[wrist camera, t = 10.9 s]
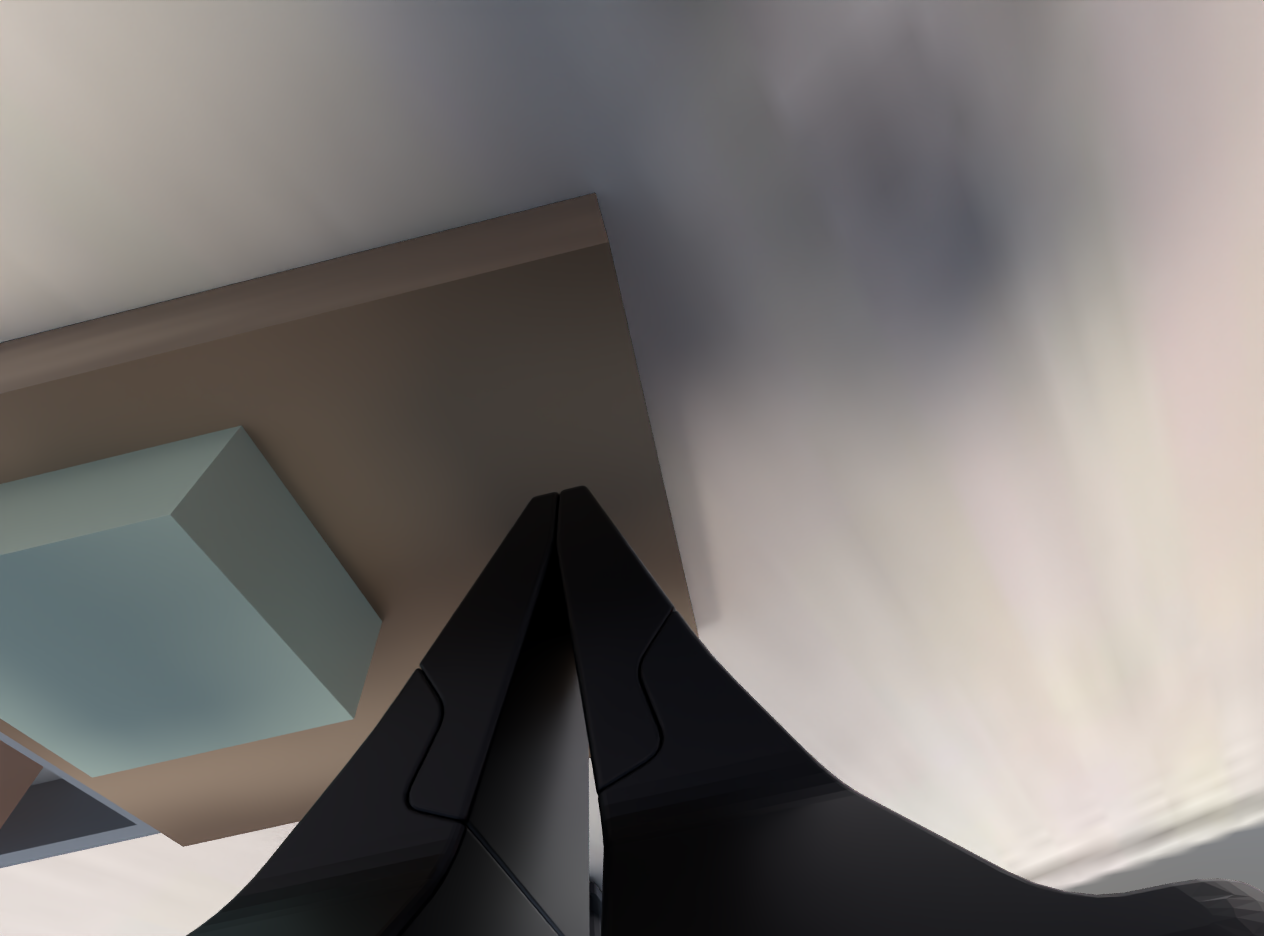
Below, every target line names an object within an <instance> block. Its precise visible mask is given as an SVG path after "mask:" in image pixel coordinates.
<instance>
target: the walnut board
mask: <svg viewBox="0 0 1264 936" xmlns="http://www.w3.org/2000/svg"><path fill="white" fill-rule="evenodd" d="M241 425H242V427H243V428H244V429H245V431H246V432H247V434H248V435H249V436H250V438H251V439H252V441H253V442H254V443H255V445H256V446H257V448H258V449H259V450H260V452H261V453H262V455H263V456H264V457H265V459H266V460H267V462H268V463H269V464H270V466H271V467H272V468H273V470H274V471H275V473H276V474H277V475H278V477H279V478H280V480H281V481H282V482H283V484H284V485H285V487H286V488H287V489H288V491H289V492H290V494H291V495H292V496H293V498H294V499H295V501H296V502H297V503H298V505H299V506H300V508H301V509H302V510H303V512H304V513H305V514H306V516H307V517H308V519H309V520H310V521H311V523H312V524H313V526H314V527H315V528H316V530H317V531H318V533H319V534H320V535H321V537H322V538H323V540H324V541H325V542H326V544H327V545H328V547H329V548H330V549H331V551H332V552H333V553H334V555H335V556H336V558H337V559H338V560H339V562H340V563H341V565H342V566H343V567H344V569H345V570H346V572H347V573H348V574H349V576H350V577H351V579H352V580H353V581H354V583H355V584H356V586H357V587H358V588H359V590H360V591H361V592H362V594H363V595H364V597H365V598H366V599H367V601H368V602H369V604H370V605H371V606H372V608H373V609H374V611H375V612H376V613H377V615H378V616H379V618H380V619H381V620H382V624H381V628H380V631H379V635H378V638H377V642H376V645H375V648H374V652H373V655H372V659H371V662H370V666H369V669H368V673H367V676H366V679H365V683H364V686H363V690H362V693H361V697H360V700H359V704H358V707H357V710H356V714H355V717H354V719H352V720H347V721H343V722H338V723H334V724H329V725H325V726H320V727H316V728H312V729H307V730H303V731H298V732H294V733H289V734H285V735H280V736H276V737H271V738H267V739H262V740H258V741H254V742H249V743H245V744H240V745H236V746H231V747H227V748H222V749H218V750H213V751H209V752H204V753H200V754H196V755H191V756H187V757H182V758H178V759H173V760H169V761H164V762H160V763H155V764H151V765H146V766H142V767H137V768H133V769H129V770H124V771H120V772H115V773H111V774H106V775H102V776H97V777H93V778H92V777H90V776H89V775H87V774H86V773H84V772H83V771H81V770H80V769H78V768H77V767H75V766H73V765H72V764H70V763H69V762H67V761H66V760H64V759H63V758H61V757H59V756H58V755H56V754H55V753H53V752H52V751H50V750H49V749H47V748H45V747H44V746H42V745H41V744H39V743H38V742H36V741H35V740H33V739H31V738H30V737H28V736H27V735H25V734H24V733H22V732H21V731H19V730H17V729H16V728H14V727H13V726H11V725H10V724H8V723H7V722H5V721H4V720H2V719H0V732H1V733H3V734H5V735H6V736H8V737H9V738H11V739H13V740H14V741H16V742H17V743H19V744H21V745H22V746H24V747H25V748H27V749H29V750H30V751H32V752H33V753H35V754H37V755H38V756H40V757H41V758H43V759H44V760H46V761H48V762H49V763H51V764H52V765H54V766H56V767H57V768H59V769H60V770H62V771H64V772H65V773H67V774H68V775H70V776H72V777H73V778H75V779H76V780H78V781H80V782H81V783H83V784H84V785H86V786H87V787H89V788H91V789H92V790H94V791H95V792H97V793H99V794H100V795H102V796H103V797H105V798H107V799H108V800H110V801H111V802H113V803H115V804H116V805H118V806H119V807H121V808H123V809H124V810H126V811H127V812H129V813H130V814H132V815H134V816H135V817H137V818H138V819H140V820H142V821H143V822H145V823H146V824H148V825H150V826H151V827H153V828H154V829H156V830H158V831H159V832H161V833H162V834H164V835H166V836H167V837H169V838H170V839H172V840H173V841H175V842H177V843H178V844H180V845H181V846H183V847H184V846H189V845H193V844H198V843H202V842H207V841H212V840H216V839H221V838H225V837H230V836H234V835H239V834H244V833H248V832H253V831H257V830H262V829H266V828H271V827H276V826H280V825H285V824H289V823H294V822H298V821H301V819H302V818H303V817H304V816H305V814H306V813H307V812H308V811H309V809H310V808H311V807H312V806H313V805H314V803H315V802H316V801H317V800H318V798H319V797H320V796H321V795H322V793H323V792H324V791H325V790H326V788H327V787H328V786H329V785H330V784H331V782H332V781H333V780H334V779H335V777H336V776H337V775H338V774H339V772H340V771H341V770H342V769H343V767H344V766H345V765H346V764H347V762H348V761H349V760H350V759H351V757H352V756H353V755H354V753H355V752H356V751H357V750H358V748H359V747H360V746H361V744H362V743H363V742H364V741H365V739H366V738H367V737H368V735H369V734H370V733H371V732H372V730H373V729H374V728H375V726H376V725H377V724H378V722H379V721H380V719H381V718H382V717H383V715H384V714H385V712H386V711H387V710H388V708H389V707H390V705H391V704H392V703H393V701H394V700H395V698H396V697H397V696H398V694H399V693H400V691H401V690H402V688H403V687H404V685H405V684H406V682H407V681H408V680H409V678H410V677H411V675H412V674H413V672H414V671H415V669H417V668H420V666H419V664H420V662H421V661H422V659H423V658H424V656H425V655H426V653H427V652H428V650H429V649H430V647H431V646H432V644H433V643H434V642H435V640H436V639H437V637H438V636H439V634H440V633H441V631H442V630H443V628H444V627H445V625H446V624H447V622H448V621H449V619H450V618H451V616H452V615H453V613H454V612H455V611H456V609H457V608H458V606H459V605H460V603H461V602H462V600H463V599H464V597H465V596H466V594H467V593H468V591H469V590H470V588H471V587H472V585H473V584H474V582H475V581H476V580H477V578H478V577H479V575H480V574H481V572H482V571H483V569H484V568H485V566H486V565H487V563H488V562H489V560H490V559H491V557H492V556H493V554H494V553H495V551H496V550H497V549H498V547H499V546H500V544H501V543H502V541H503V540H504V538H505V537H506V535H507V534H508V532H509V531H510V529H511V528H512V526H513V525H514V523H515V522H516V520H517V519H518V518H519V516H520V515H521V513H522V512H523V510H524V509H525V507H526V506H527V504H528V503H529V501H530V500H531V499H532V498H533V497H535V496H538V495H543V494H547V493H551V492H558V493H559V494H560V492H561V491H562V490H564V489H569V488H573V487H577V486H581V485H584V486H586V487H587V488H588V489H589V490H590V492H591V493H592V494H593V496H594V497H595V498H596V500H597V501H598V503H599V504H600V505H601V507H602V508H603V509H604V511H605V512H606V513H607V515H608V516H609V518H610V519H611V520H612V522H613V523H614V524H615V526H616V527H617V529H618V530H619V531H620V533H621V534H622V535H623V537H624V538H625V539H626V541H627V542H628V544H629V545H630V546H631V548H632V549H633V550H634V552H635V553H636V555H637V556H638V557H639V559H640V560H641V561H642V563H643V564H644V565H645V567H646V568H647V570H648V571H649V572H650V574H651V575H652V576H653V578H654V579H655V581H656V582H657V583H658V585H659V586H660V587H661V589H662V590H663V591H664V593H665V594H666V596H667V597H668V598H669V600H670V601H671V602H672V604H673V605H674V607H675V608H676V611H678V612H679V613H680V614H681V616H682V617H683V618H684V620H685V621H686V622H687V624H688V625H689V626H690V628H691V629H692V630H693V632H694V633H695V634H696V635H697V637H698V632H697V628H696V624H695V619H694V615H693V610H692V606H691V602H690V597H689V593H688V588H687V584H686V580H685V575H684V571H683V566H682V562H681V558H680V553H679V549H678V544H677V540H676V536H675V531H674V527H673V522H672V518H671V513H670V509H669V505H668V500H667V496H666V491H665V487H664V483H663V478H662V474H661V469H660V465H659V461H658V456H657V452H656V447H655V443H654V439H653V434H652V430H651V425H650V421H649V417H648V412H647V408H646V403H645V399H644V395H643V390H642V386H641V381H640V377H639V373H638V368H637V364H636V359H635V355H634V351H633V346H632V342H631V337H630V333H629V329H628V324H627V320H626V315H625V311H624V307H623V302H622V298H621V293H620V289H619V285H618V280H617V276H616V271H615V267H614V263H613V258H612V254H611V249H610V245H609V241H608V237H607V234H606V230H605V226H604V223H603V219H602V215H601V212H600V208H599V205H598V201H597V197H596V194H595V193H593V194H589V195H585V196H581V197H577V198H573V199H569V200H565V201H561V202H557V203H553V204H549V205H545V206H541V207H537V208H533V209H529V210H525V211H521V212H517V213H513V214H509V215H505V216H502V217H498V218H494V219H490V220H486V221H482V222H478V223H474V224H470V225H466V226H462V227H458V228H454V229H450V230H446V231H442V232H438V233H434V234H430V235H426V236H422V237H418V238H414V239H410V240H407V241H403V242H399V243H395V244H391V245H387V246H383V247H379V248H375V249H371V250H367V251H363V252H359V253H355V254H351V255H347V256H343V257H339V258H335V259H331V260H327V261H323V262H319V263H315V264H312V265H308V266H304V267H300V268H296V269H292V270H288V271H284V272H280V273H276V274H272V275H268V276H264V277H260V278H256V279H252V280H248V281H244V282H240V283H236V284H232V285H228V286H224V287H220V288H217V289H213V290H209V291H205V292H201V293H197V294H193V295H189V296H185V297H181V298H177V299H173V300H169V301H165V302H161V303H157V304H153V305H149V306H145V307H141V308H137V309H133V310H129V311H125V312H122V313H118V314H114V315H110V316H106V317H102V318H98V319H94V320H90V321H86V322H82V323H78V324H74V325H70V326H66V327H62V328H58V329H54V330H50V331H46V332H42V333H38V334H34V335H30V336H27V337H23V338H19V339H15V340H11V341H7V342H3V343H0V484H3V483H7V482H11V481H15V480H19V479H23V478H28V477H32V476H36V475H40V474H44V473H48V472H52V471H56V470H60V469H64V468H69V467H73V466H77V465H81V464H85V463H89V462H93V461H97V460H101V459H105V458H110V457H114V456H118V455H122V454H126V453H130V452H134V451H138V450H142V449H146V448H151V447H155V446H159V445H163V444H167V443H171V442H175V441H179V440H183V439H188V438H192V437H196V436H200V435H204V434H208V433H212V432H216V431H220V430H224V429H229V428H233V427H237V426H241ZM698 638H699V637H698ZM420 669H421V668H420ZM589 758H591V756H590V749H589Z"/></svg>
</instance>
